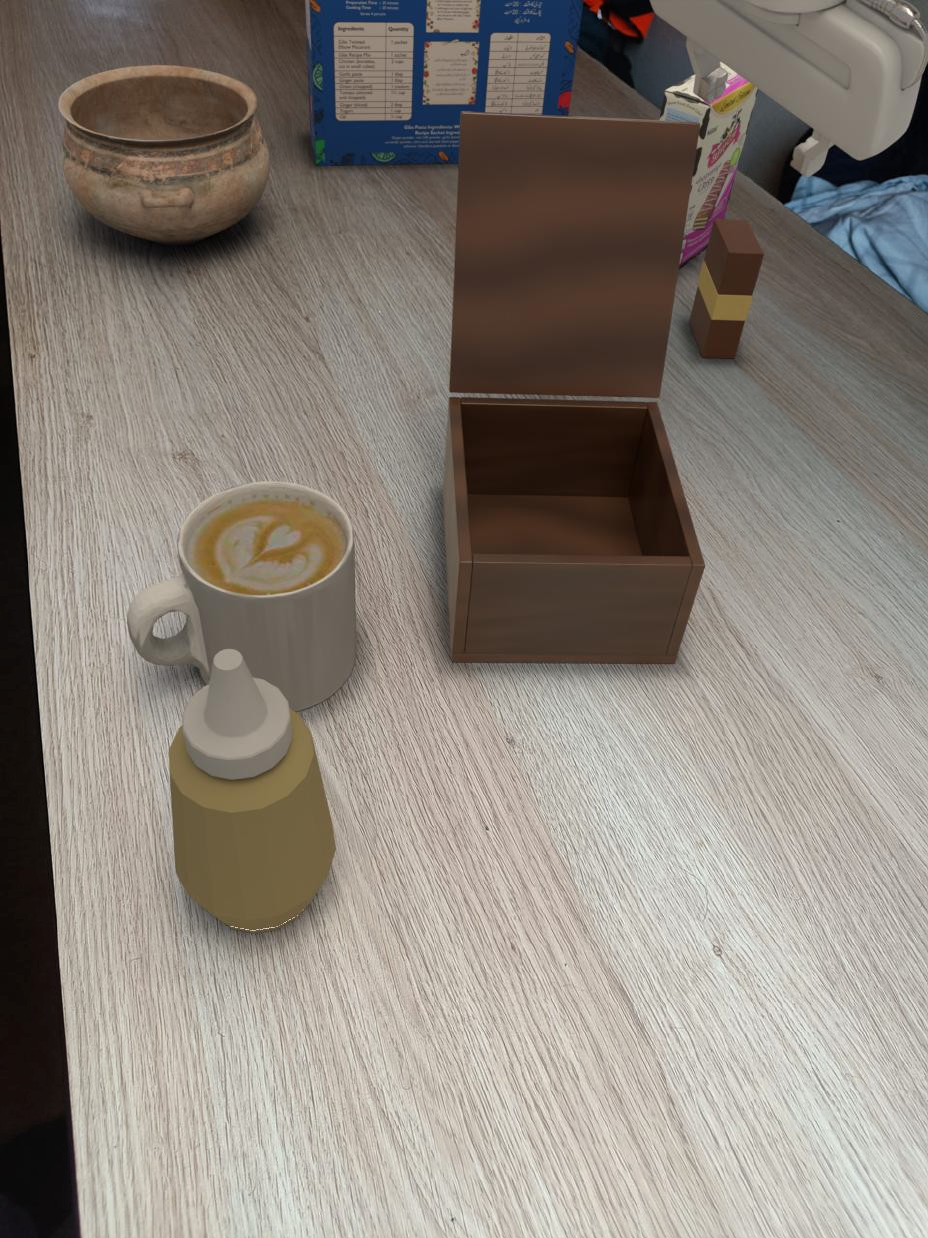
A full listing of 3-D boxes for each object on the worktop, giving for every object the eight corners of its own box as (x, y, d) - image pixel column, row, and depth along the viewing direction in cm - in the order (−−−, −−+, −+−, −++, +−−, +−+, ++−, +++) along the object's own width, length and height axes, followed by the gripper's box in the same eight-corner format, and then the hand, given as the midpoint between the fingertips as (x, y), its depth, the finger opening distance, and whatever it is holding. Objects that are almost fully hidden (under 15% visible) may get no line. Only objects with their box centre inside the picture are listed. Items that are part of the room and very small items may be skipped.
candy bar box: (672, 278, 105) (711, 104, 93) (628, 260, 106) (661, 88, 95) (723, 238, 111) (765, 71, 99) (680, 222, 113) (717, 57, 101)
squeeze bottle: (167, 845, 58) (108, 616, 45) (311, 801, 60) (294, 571, 47) (204, 978, 53) (148, 763, 40) (358, 923, 55) (354, 705, 42)
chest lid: (700, 123, 65) (683, 114, 69) (461, 112, 64) (457, 103, 67) (659, 398, 74) (646, 377, 78) (449, 392, 73) (446, 371, 76)
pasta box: (546, 132, 127) (579, -151, 107) (562, 161, 122) (600, -132, 102) (310, 135, 122) (298, -161, 102) (316, 165, 117) (304, -141, 97)
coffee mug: (340, 588, 72) (336, 471, 65) (370, 699, 66) (370, 583, 58) (136, 617, 69) (108, 498, 62) (147, 737, 63) (117, 620, 55)
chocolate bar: (720, 322, 99) (748, 219, 92) (735, 358, 95) (765, 254, 88) (688, 321, 99) (713, 218, 92) (701, 357, 95) (728, 252, 88)
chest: (675, 663, 69) (705, 565, 63) (451, 662, 68) (459, 562, 62) (635, 498, 81) (657, 401, 74) (442, 495, 80) (448, 396, 73)
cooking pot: (286, 289, 99) (277, 156, 90) (72, 299, 95) (41, 162, 86) (263, 171, 115) (254, 49, 106) (81, 176, 112) (56, 51, 103)
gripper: (979, -3, 58) (902, 190, 71) (716, -167, 66) (688, 35, 78) (898, 53, 57) (835, 239, 70) (639, -120, 64) (624, 77, 77)
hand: (756, 130), depth 74 cm, fingers open, 8 cm apart
